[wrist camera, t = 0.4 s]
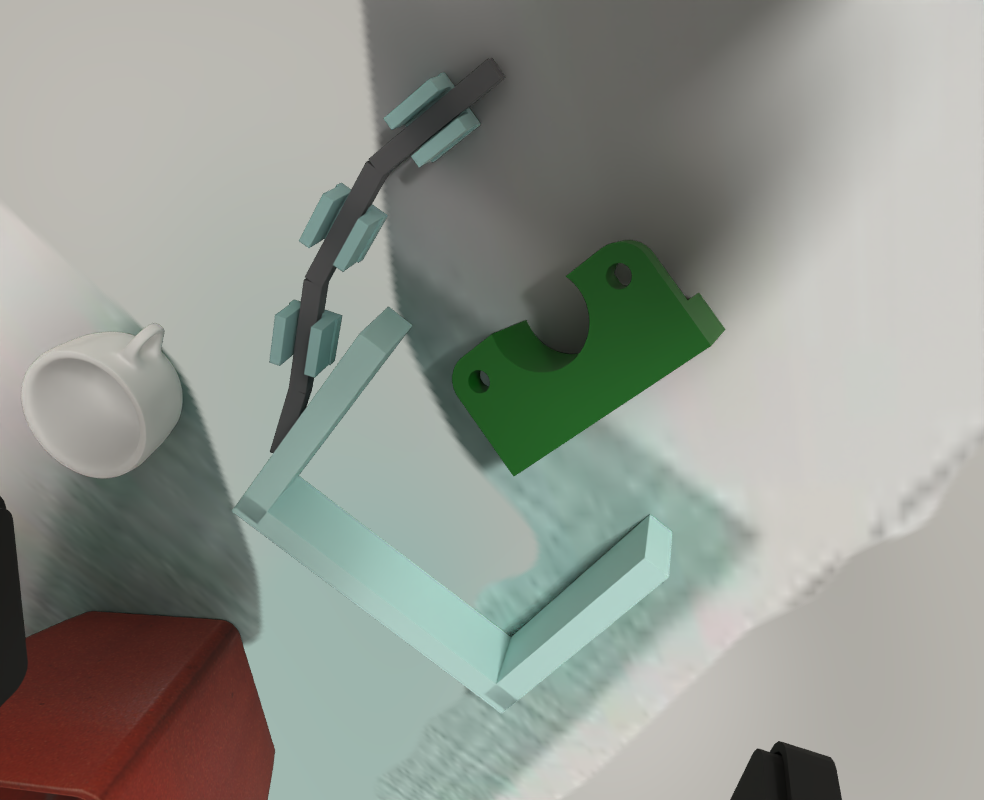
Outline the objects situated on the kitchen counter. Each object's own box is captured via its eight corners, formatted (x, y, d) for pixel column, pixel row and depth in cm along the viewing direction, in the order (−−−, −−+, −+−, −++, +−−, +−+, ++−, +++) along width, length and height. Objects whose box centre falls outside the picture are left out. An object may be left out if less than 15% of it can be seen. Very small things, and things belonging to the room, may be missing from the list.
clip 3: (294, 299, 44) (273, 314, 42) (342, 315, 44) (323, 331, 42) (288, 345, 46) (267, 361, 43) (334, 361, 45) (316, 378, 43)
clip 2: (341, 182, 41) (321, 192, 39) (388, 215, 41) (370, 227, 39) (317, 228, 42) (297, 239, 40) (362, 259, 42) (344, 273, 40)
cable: (456, 27, 36) (450, 28, 35) (547, 104, 37) (544, 107, 36) (218, 400, 48) (210, 406, 47) (290, 454, 48) (283, 462, 48)
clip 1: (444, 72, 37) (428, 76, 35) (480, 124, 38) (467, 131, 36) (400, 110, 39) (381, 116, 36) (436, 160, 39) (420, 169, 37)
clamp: (639, 243, 43) (662, 203, 34) (705, 336, 43) (746, 320, 34) (453, 375, 44) (427, 370, 35) (517, 467, 44) (508, 487, 34)
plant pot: (28, 568, 59) (-200, 757, 44) (266, 579, 54) (97, 797, 39) (112, 761, 66) (-58, 978, 52) (327, 787, 61) (206, 1035, 47)
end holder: (388, 306, 43) (359, 333, 40) (672, 532, 45) (669, 577, 41) (265, 475, 50) (231, 511, 46) (515, 665, 52) (501, 713, 48)
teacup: (166, 457, 51) (111, 503, 47) (67, 377, 50) (0, 416, 46) (241, 352, 46) (188, 391, 42) (133, 261, 46) (66, 291, 41)
